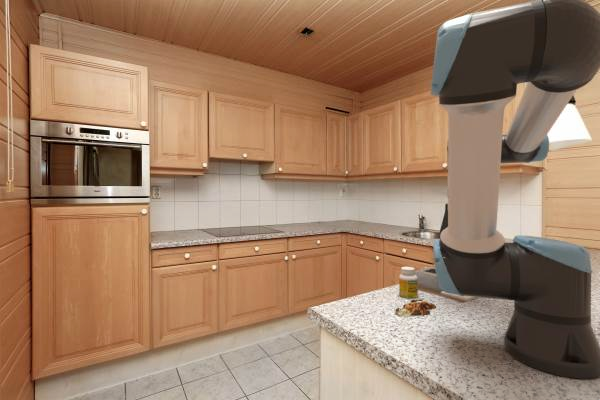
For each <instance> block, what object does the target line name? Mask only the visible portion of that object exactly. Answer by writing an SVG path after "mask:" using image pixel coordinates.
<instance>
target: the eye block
mask: <svg viewBox="0 0 600 400" xmlns="http://www.w3.org/2000/svg"><path fill="white" fill-rule="evenodd" d="M414 274H415V275H416V276H417V280H418V287H421V288H425V289H429V290H432V291H436V292H440V293H441V292H442V291H443V290H442V289H441V288H440V287H439V284H438V280H437V275H436V269H435V266H427V267H423V268H420V269H415V273H414Z"/></svg>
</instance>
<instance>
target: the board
mask: <svg viewBox="0 0 600 400" xmlns="http://www.w3.org/2000/svg"><path fill="white" fill-rule="evenodd" d="M418 291H419V292H420V291H421V292H424V293H427V294H430V295H431V294H432V295H435V296H438V297H442V298H446V299H448V300H451V301H455V302H459V303H466V302H468V301H470V300H468V301H465V300H461V299H457V298H454V297H450V296H447V295H443V294H441V293H440V292H436V291H432V290H429V289H425V288H421V287H418ZM474 299H475V298H473V299H472V300H474Z"/></svg>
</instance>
